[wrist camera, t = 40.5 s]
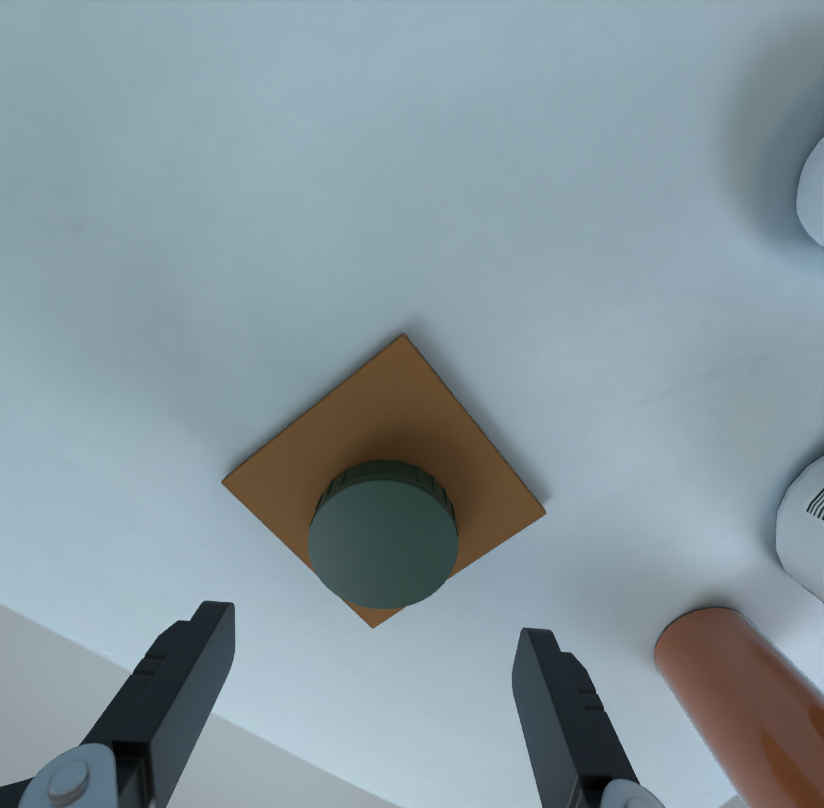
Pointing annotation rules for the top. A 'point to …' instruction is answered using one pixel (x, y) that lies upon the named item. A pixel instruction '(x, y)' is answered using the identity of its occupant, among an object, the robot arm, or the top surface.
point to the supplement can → (803, 529)
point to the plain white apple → (812, 194)
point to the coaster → (386, 458)
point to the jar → (747, 707)
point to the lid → (383, 535)
